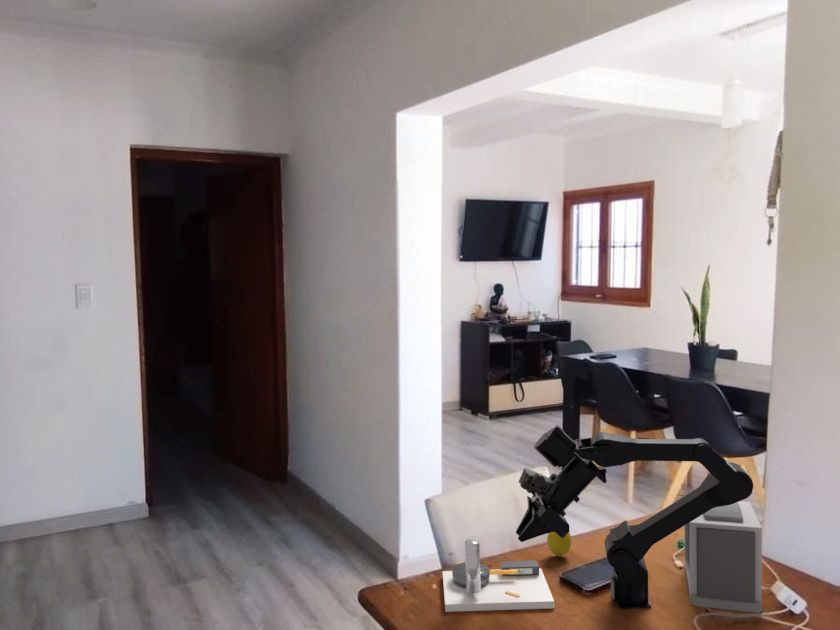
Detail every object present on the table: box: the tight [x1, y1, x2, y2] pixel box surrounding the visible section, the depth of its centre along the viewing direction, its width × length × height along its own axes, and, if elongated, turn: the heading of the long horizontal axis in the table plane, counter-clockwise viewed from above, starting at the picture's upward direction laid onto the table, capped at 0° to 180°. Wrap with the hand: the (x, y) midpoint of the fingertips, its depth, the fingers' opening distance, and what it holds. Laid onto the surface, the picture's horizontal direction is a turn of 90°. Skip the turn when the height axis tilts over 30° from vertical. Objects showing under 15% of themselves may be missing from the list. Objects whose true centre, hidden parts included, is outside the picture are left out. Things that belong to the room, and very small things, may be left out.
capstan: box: [451, 538, 517, 593], centre depth 144 cm, size 14×12×11 cm
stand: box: [442, 560, 555, 613], centre depth 144 cm, size 22×15×4 cm
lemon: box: [546, 531, 572, 558], centre depth 160 cm, size 6×6×8 cm
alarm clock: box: [684, 500, 763, 614], centre depth 142 cm, size 18×13×18 cm
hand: (518, 537), depth 139 cm, fingers open, 3 cm apart
